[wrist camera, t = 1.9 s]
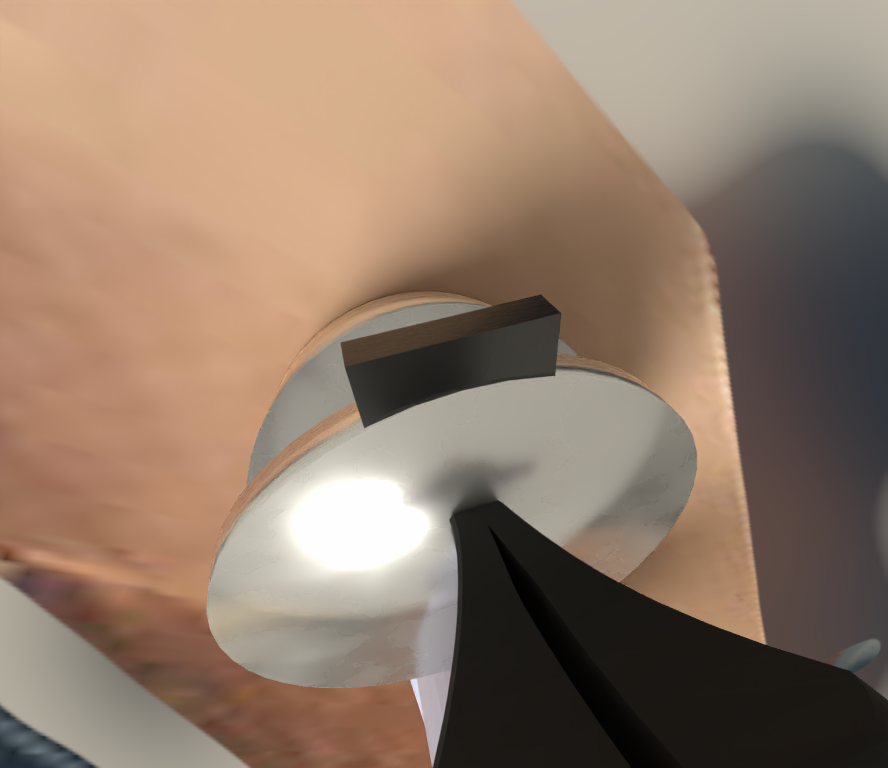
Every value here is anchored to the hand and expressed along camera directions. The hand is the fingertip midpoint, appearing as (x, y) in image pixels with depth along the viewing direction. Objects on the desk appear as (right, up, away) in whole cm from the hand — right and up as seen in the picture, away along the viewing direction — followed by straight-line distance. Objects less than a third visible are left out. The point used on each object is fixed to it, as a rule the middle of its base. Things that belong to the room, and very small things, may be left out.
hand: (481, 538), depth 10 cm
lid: (0, -1, +2) cm, 3 cm away
